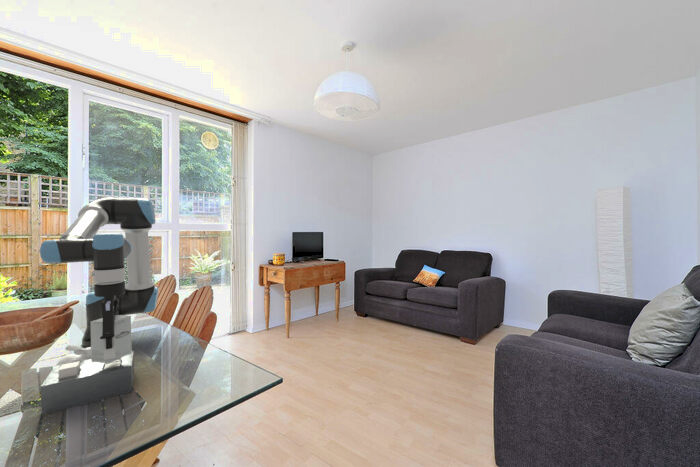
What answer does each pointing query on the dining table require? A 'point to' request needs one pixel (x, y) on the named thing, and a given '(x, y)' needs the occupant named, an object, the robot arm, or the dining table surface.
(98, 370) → the block
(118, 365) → the block
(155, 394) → the dining table surface
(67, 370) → the block
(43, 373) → the dining table surface
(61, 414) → the dining table surface
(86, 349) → the rabbit
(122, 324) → the supplement box
